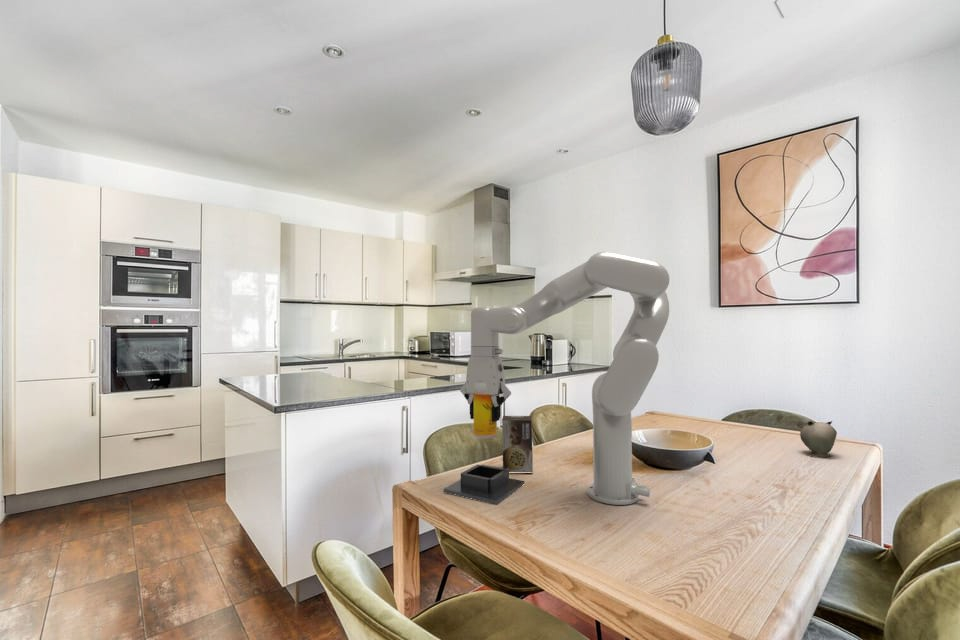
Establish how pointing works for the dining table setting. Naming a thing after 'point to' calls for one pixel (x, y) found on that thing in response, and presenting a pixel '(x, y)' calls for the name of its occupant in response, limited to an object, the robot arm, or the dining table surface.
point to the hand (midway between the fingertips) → (484, 418)
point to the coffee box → (517, 443)
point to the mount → (485, 484)
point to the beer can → (483, 412)
